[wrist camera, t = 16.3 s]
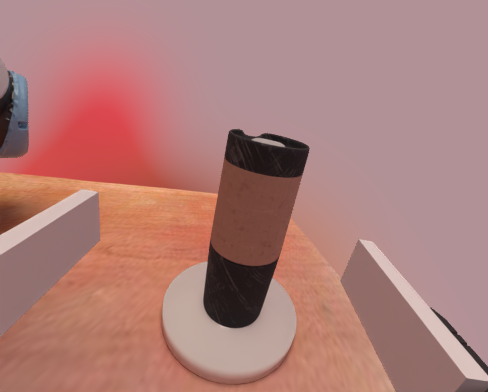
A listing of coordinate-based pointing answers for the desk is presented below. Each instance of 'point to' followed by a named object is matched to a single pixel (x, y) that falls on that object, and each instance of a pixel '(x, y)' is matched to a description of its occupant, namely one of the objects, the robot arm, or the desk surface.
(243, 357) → the white round disc
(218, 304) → the travel mug
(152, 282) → the desk surface
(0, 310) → the robot arm
